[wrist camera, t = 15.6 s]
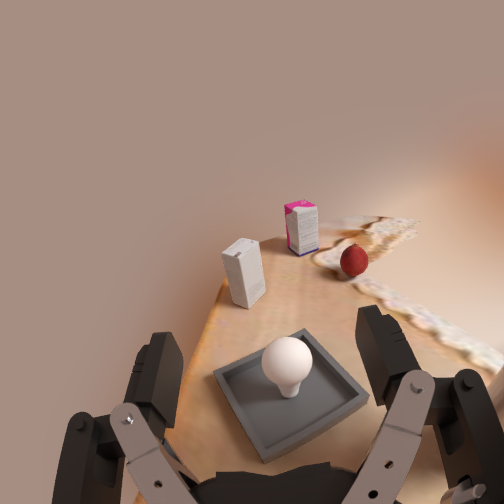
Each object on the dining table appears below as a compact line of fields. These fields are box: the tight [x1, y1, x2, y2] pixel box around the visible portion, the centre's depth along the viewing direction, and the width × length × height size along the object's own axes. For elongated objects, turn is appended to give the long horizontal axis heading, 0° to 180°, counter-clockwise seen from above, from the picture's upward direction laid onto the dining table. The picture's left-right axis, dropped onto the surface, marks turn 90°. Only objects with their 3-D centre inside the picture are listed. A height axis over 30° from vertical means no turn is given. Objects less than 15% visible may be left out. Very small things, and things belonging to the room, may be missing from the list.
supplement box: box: [284, 200, 319, 257], centre depth 68 cm, size 6×6×12 cm
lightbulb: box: [262, 337, 312, 398], centre depth 34 cm, size 6×6×11 cm
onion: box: [340, 242, 368, 276], centre depth 56 cm, size 6×6×8 cm
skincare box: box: [222, 238, 266, 309], centre depth 54 cm, size 6×4×12 cm
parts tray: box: [213, 328, 370, 464], centre depth 37 cm, size 16×16×2 cm
